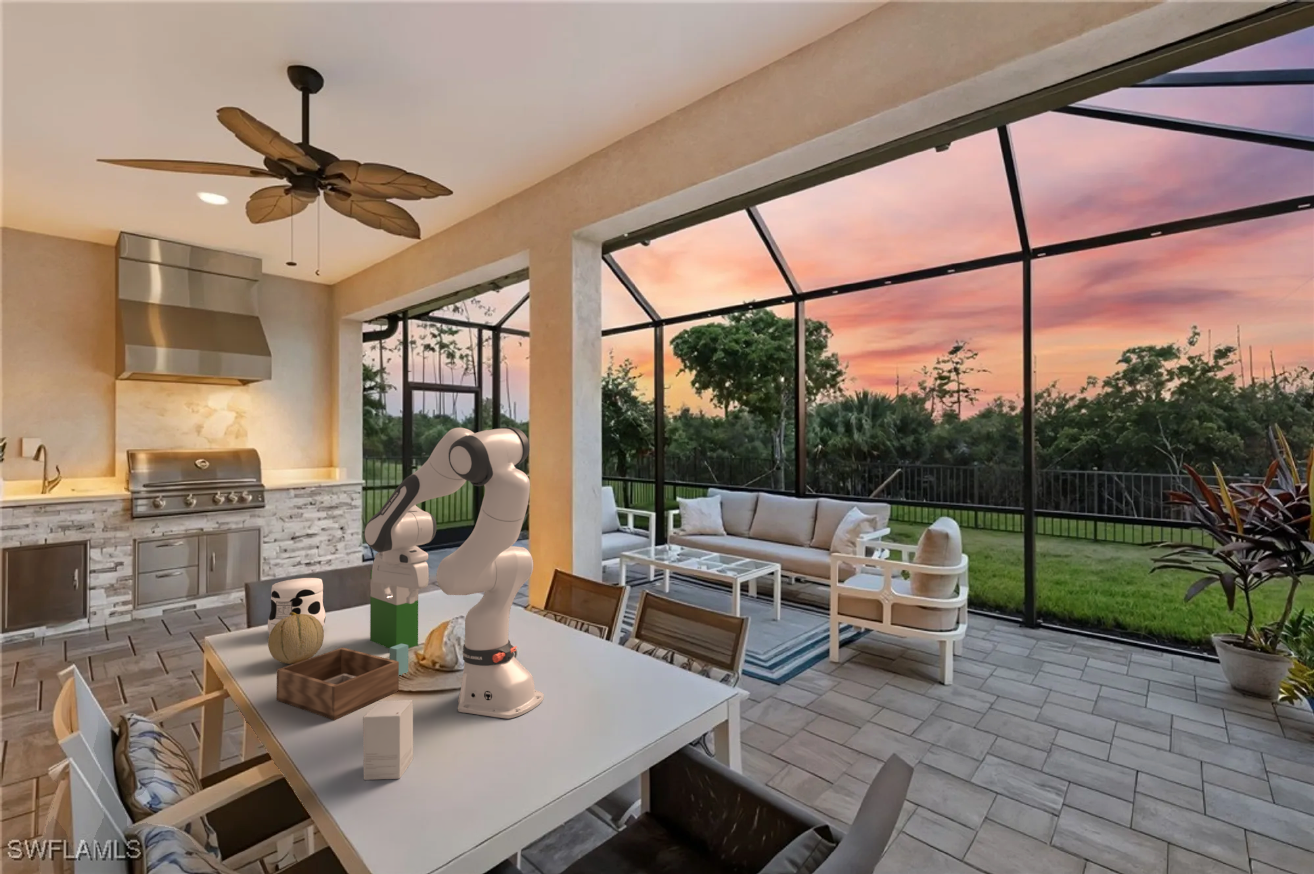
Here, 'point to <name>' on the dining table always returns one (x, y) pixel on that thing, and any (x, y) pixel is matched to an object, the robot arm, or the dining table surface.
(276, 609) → the milk container
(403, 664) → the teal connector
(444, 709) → the dining table surface
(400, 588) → the hardback book
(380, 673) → the walled box
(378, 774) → the supplement box
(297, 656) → the cantaloupe
